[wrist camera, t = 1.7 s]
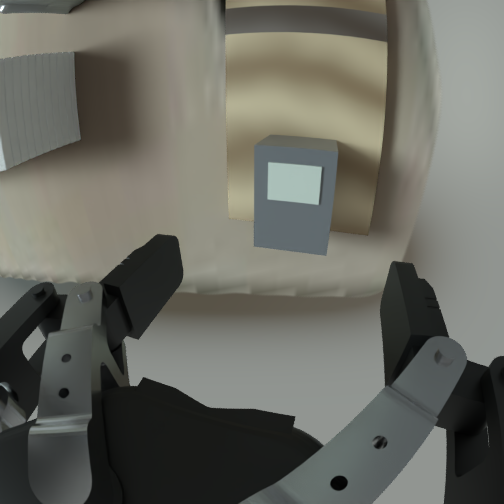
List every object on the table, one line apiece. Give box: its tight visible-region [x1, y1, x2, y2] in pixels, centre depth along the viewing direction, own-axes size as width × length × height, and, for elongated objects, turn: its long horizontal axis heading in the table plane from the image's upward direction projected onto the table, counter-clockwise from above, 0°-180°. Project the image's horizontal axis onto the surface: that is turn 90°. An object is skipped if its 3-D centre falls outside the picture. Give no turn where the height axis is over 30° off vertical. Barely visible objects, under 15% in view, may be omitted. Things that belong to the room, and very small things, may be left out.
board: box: [225, 0, 388, 236], centre depth 19 cm, size 24×12×1 cm, turn 0°
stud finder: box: [254, 135, 338, 256], centre depth 20 cm, size 7×5×5 cm
